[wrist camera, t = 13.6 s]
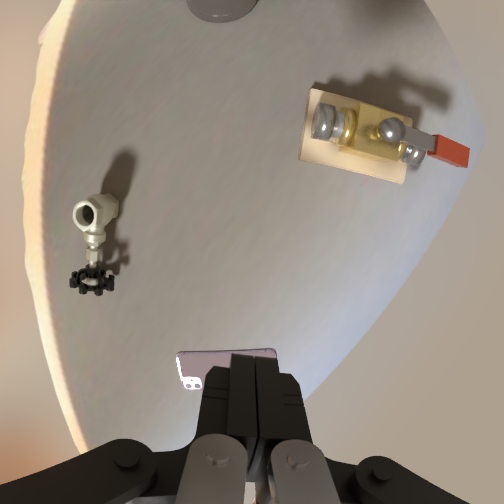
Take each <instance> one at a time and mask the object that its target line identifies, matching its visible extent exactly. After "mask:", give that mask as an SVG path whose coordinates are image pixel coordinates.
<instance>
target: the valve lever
mask: <svg viewBox="0 0 504 504" xmlns="http://www.w3.org/2000/svg"><path fill="white" fill-rule="evenodd" d="M378 133H379V135H380V137H381V138H382V139H383V140H384V141H386V142H398V141H399V142H402V143H405V144H408V145H410V146H413V147H416V148H419V149H422V150H424V151H427V155H428V156H431V157H434V158H436V159H439V160H441V161H444V162H446V163H449V164H451V165H454V166H456V167H464V168H467V166H468V159H469V151H470V148H468V147H466V146H463V145H461V144H459V143H457V142H455V141H453V140H450V139H448V138H446V137H444V136H441V135H430V134H427V133H425V132H422V131H420V130H417V129H414V128H412V127H409V126H406V125H404V123H403V122H402V121H401V120H400V119H399V118H396V117H390V118H387V119H384V120H382V121H381V122H380V123H379V125H378Z"/></svg>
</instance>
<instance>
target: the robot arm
mask: <svg viewBox="0 0 504 504" xmlns="http://www.w3.org/2000/svg"><path fill="white" fill-rule="evenodd" d="M186 1H187V4H188V6H189V8H190V10H191V12H192V13H193V14H194V15H196V16H197V17H199V18H201V19H203V20H206V21H210V22H228V21H233V20H236V19H239V18H241V17H243V16H244V15H246V14H247V13H248V12H250V11H251V9H252V8H253V7H254V5H255V3H256V1H257V0H186ZM245 482H255V487H256V488H255V490H256V493H255V496H254V498H253V504H469V503H467V502H466V501H463V500H461V499H460V498H458V497H456V496H454V495H452V494H450V493H448V492H446V491H444V490H443V489H441V488H439V487H437V486H435V485H434V484H432V483H430V482H428V481H427V480H425V479H423V478H421V477H420V476H418V475H416V474H415V473H413V472H411V471H410V470H408V469H406V468H405V467H403V466H401V465H400V464H398V463H396V462H395V461H393V460H391V459H389V458H387V457H383V456H372V457H368V458H366V459H364V460H362V461H361V462H360V463H359V464H358V465H352V464H347V463H342V462H337V461H333V460H331V459H328V458H326V457H325V456H324V454H323V453H322V451H321V450H320V449H319V448H318V447H316V446H315V445H314V444H313V442H312V438H311V434H310V429H309V425H308V420H307V416H306V412H305V407H304V403H303V398H302V394H301V390H300V385H299V383H298V382H297V381H296V380H295V378H294V377H293V376H292V375H291V374H286V373H279V366H278V360H277V358H271V357H262V356H252V355H243V354H235V353H231V359H230V365H229V368H227V367H220V366H213V367H212V368H211V369H210V370H209V372H208V373H207V374H206V376H205V382H204V388H203V394H202V400H201V406H200V412H199V418H198V424H197V430H196V435H195V437H194V439H193V440H192V441H191V443H189V444H188V445H187V446H185V447H184V448H181V449H178V450H175V451H166V452H152V451H151V450H150V448H148V447H147V446H146V445H144V444H143V443H141V442H138V441H136V440H132V439H116V440H113V441H110V442H108V443H106V444H104V445H101V446H99V447H97V448H95V449H93V450H90V451H88V452H86V453H84V454H81V455H79V456H77V457H74V458H72V459H70V460H68V461H65V462H63V463H60V464H57V465H55V466H52V467H50V468H47V469H45V470H42V471H40V472H37V473H34V474H31V475H29V476H26V477H23V478H20V479H17V480H14V481H11V482H8V483H5V484H1V485H0V504H243V502H244V493H245Z"/></svg>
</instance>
